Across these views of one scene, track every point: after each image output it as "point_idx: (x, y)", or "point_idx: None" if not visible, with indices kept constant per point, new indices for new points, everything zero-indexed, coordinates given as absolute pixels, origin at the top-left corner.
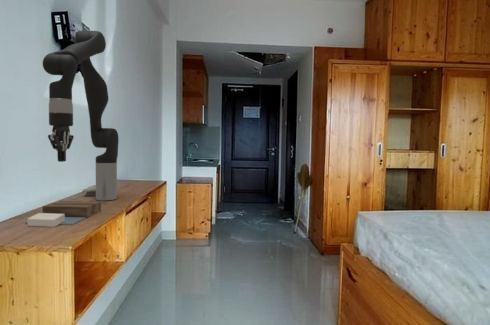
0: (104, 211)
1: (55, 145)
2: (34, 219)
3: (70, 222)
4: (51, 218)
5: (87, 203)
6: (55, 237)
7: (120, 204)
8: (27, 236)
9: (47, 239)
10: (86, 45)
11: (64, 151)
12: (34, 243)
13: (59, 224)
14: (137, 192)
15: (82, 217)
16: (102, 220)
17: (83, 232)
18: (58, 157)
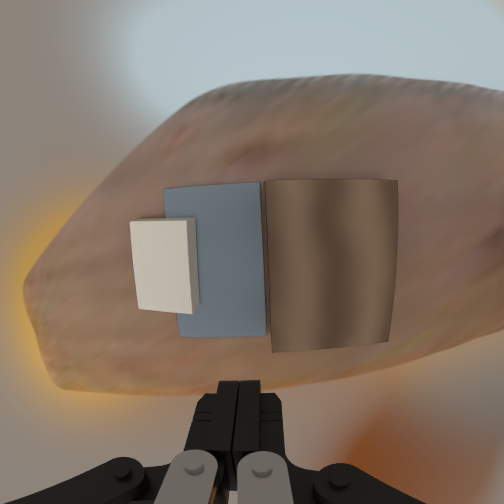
0: None
1: (124, 501)
2: (132, 246)
3: (192, 324)
4: (147, 295)
5: (351, 317)
6: (79, 347)
7: (477, 320)
8: (66, 287)
9: (65, 339)
10: None
11: (230, 488)
12: (43, 328)
13: None
14: None
15: (265, 325)
16: None
17: (127, 385)
18: (197, 414)
